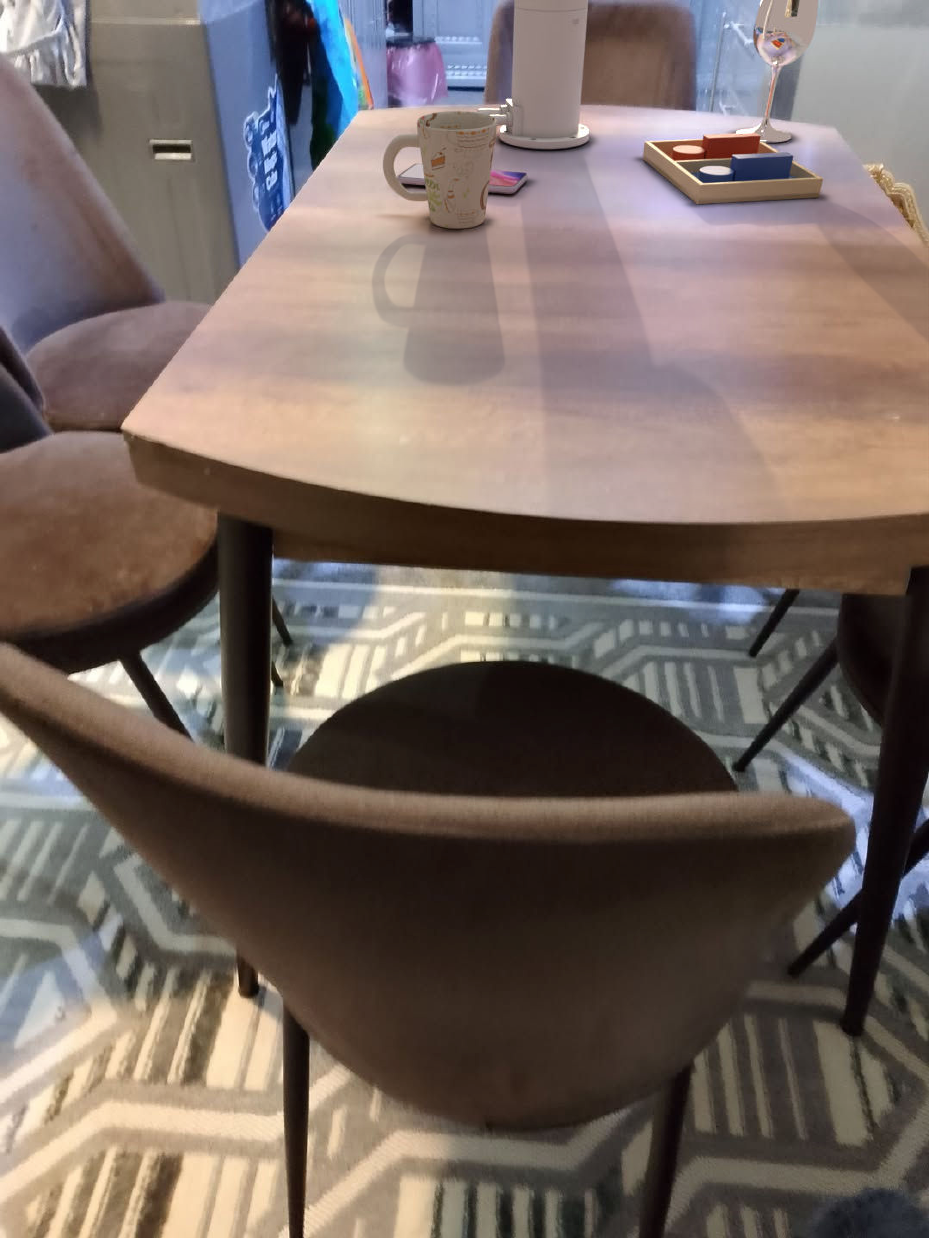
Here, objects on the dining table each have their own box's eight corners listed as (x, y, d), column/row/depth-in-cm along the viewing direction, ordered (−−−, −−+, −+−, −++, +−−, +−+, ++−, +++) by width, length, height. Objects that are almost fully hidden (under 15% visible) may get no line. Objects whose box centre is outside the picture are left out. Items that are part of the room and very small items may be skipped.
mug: (487, 235, 97) (489, 132, 91) (374, 227, 99) (368, 126, 93) (500, 211, 104) (503, 113, 97) (394, 204, 105) (389, 107, 99)
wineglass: (757, 146, 125) (792, -32, 112) (723, 133, 131) (752, -38, 117) (803, 140, 127) (842, -35, 114) (768, 127, 133) (801, -41, 120)
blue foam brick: (777, 174, 112) (783, 149, 110) (792, 184, 109) (797, 158, 107) (693, 179, 110) (696, 154, 109) (705, 188, 108) (709, 163, 106)
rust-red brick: (747, 154, 119) (751, 130, 117) (759, 162, 116) (764, 138, 114) (667, 158, 118) (670, 134, 116) (677, 166, 115) (681, 142, 113)
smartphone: (414, 162, 115) (529, 172, 112) (415, 170, 116) (529, 180, 113) (394, 177, 110) (514, 187, 107) (395, 184, 111) (514, 195, 107)
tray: (697, 204, 106) (700, 185, 104) (642, 158, 120) (644, 141, 119) (819, 197, 108) (823, 178, 106) (750, 153, 122) (753, 136, 121)
